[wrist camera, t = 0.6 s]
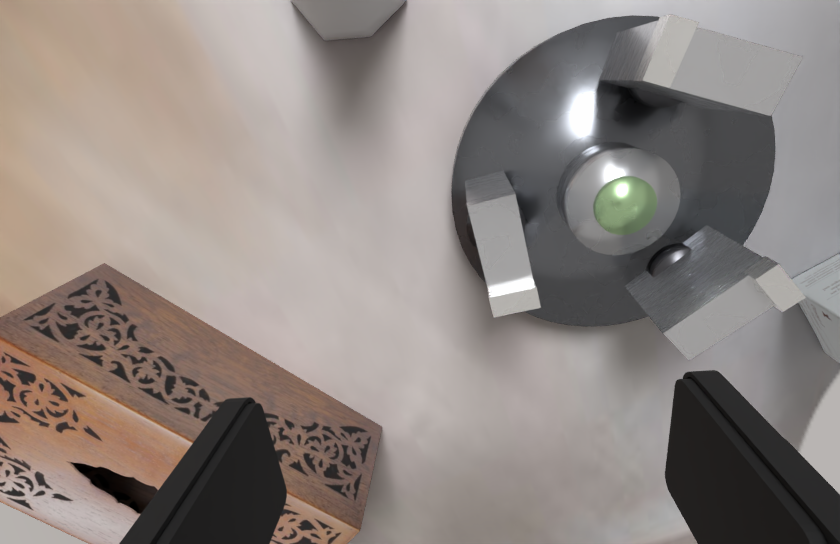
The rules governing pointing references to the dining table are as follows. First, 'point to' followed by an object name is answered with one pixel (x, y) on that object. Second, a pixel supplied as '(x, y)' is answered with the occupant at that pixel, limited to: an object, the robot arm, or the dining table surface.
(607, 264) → the levelling plate
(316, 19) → the flask
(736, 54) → the knob
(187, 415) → the tissue box cover
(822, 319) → the supplement box
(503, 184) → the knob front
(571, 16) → the dining table surface
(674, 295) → the knob
